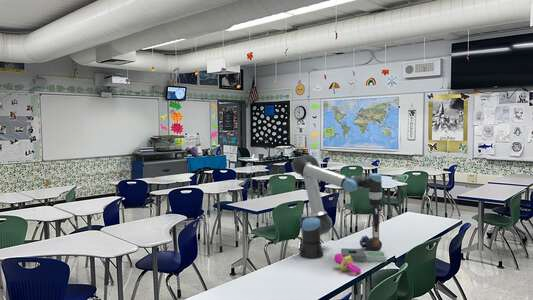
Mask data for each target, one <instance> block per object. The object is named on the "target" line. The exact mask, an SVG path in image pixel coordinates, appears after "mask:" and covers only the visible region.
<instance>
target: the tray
mask: <svg viewBox="0 0 533 300" xmlns="http://www.w3.org/2000/svg"><path fill="white" fill-rule="evenodd" d="M364 254H365V262H369V263H370V262H372V263H374V262H376V263H377V262H378V263H387V261H388V259H387V255H386V251H380V250H378V251H369V250H364Z"/></svg>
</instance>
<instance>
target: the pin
mask: <svg viewBox="0 0 533 300" xmlns="http://www.w3.org/2000/svg"><path fill="white" fill-rule="evenodd" d="M380 224H381V223H380V221H379V225H380ZM371 226H372V229H371V230H372V232H371V233H372V237H371V238H373V246H379V240H380V226H379V227H378V237H374V227H373V226H374V221H373V220H372V221H371Z"/></svg>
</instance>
